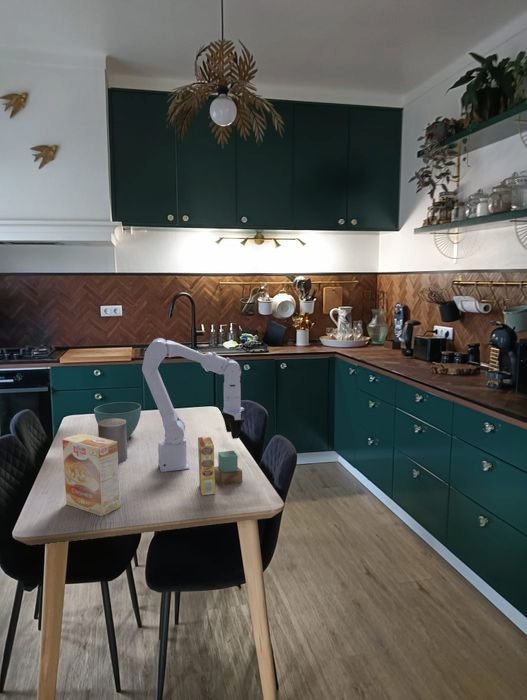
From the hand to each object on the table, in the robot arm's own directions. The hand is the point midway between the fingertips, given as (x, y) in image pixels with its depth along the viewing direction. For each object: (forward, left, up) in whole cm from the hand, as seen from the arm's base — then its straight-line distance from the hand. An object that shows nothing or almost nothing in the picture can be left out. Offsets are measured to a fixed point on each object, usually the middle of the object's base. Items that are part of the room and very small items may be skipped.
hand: (232, 434), depth 176 cm
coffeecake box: (-46, -19, -11) cm, 51 cm away
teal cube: (-5, -13, -7) cm, 16 cm away
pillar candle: (-39, +18, -11) cm, 44 cm away
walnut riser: (-5, -13, -11) cm, 18 cm away
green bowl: (-36, +44, -11) cm, 58 cm away
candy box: (-13, -18, -11) cm, 25 cm away
